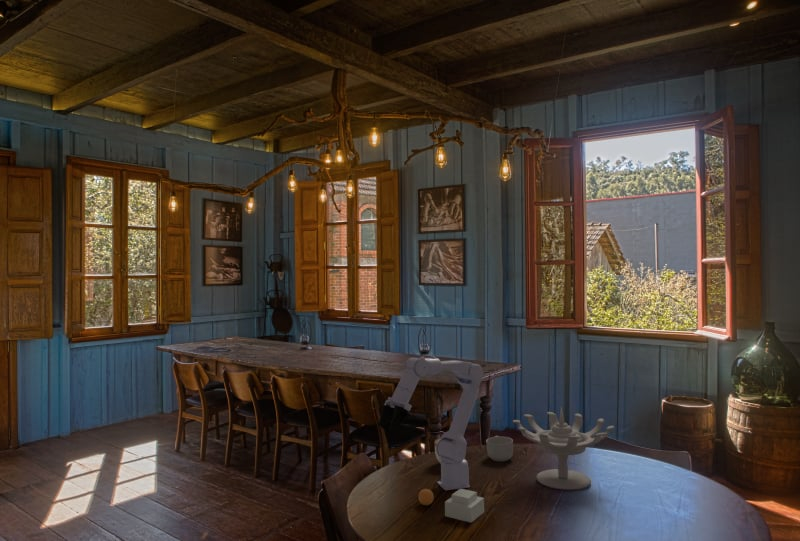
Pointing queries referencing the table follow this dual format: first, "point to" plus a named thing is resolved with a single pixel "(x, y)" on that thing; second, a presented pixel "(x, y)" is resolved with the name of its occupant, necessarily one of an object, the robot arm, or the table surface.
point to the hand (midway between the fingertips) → (386, 428)
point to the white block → (464, 506)
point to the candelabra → (563, 448)
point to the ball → (426, 497)
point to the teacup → (500, 448)
